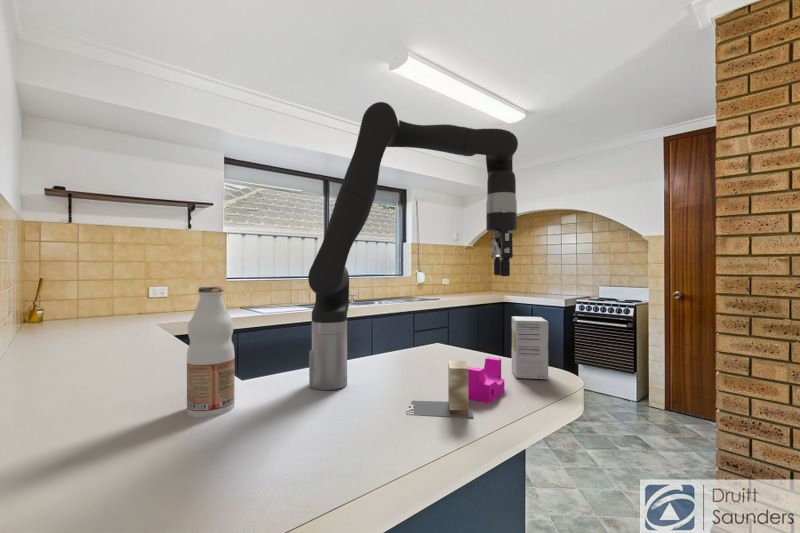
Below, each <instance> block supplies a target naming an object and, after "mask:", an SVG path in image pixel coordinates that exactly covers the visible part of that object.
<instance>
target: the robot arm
mask: <svg viewBox="0 0 800 533" xmlns="http://www.w3.org/2000/svg"><path fill="white" fill-rule="evenodd" d="M518 140H519V139H518V138H517V136H516V135H515V134H514V133H513V132H511V131H509V130H507V129H502V128H472V127H468V126H462V125H455V124H447V123H442V124H441V123H439V124H415V123H411V122H406V121H405V120H404V121H403V120H401V119H399V117H398V115H397V112H396V110H395V108H393V106H392V105H391V104H389V103H388V102H384V101H377V102H375V103H373V104H371V105H370V106H369V107H368V108H367V109H366V110H365V112H364V113H363V116H362V120H361V123H360V126H359V131H358V136H357V140H356V144H355V148H354V152H353V154H352V157H351V159H350V162H349V164H348V167H347V169H346V172H345V175H344V177H343V180H342V183H341V186H340V187H339V191H338V194H337V197H336V199H335V202H334V206H333V209H332V211H331V212H332V213H331V216H330V218H329V221H328V224H327V228H326V232H325V236H324V238H323V239H322V242H321V245H320V247H319V249H318V252H317V253H316V256H315V258H314V260H313V262H312V265H311V267H310V268H309V272H308V276H307V277H308V285H309V287H310V289H311V290H312V291H313V293H315V303H314V306H313V308H312V311H311V350H309V351H308V352H309V353H308V354H309V355H308V356H309V357H308V358H309V359H308V361H309V362H308V364H309V366H308V367H309V368H308V376H309V380H308V382H309V384H308V386H309V388H310V389H315V390H319V391H332V390H333V391H334V390H339V389H340V390H341V389H343V388H345V387H347V385H348V312H349V307H350V306H349V304H350V276H349V271H348V269H347V267H346V264H347V261H348V257H349V253H350V251H351V249H352V247H353V244H354V242H355V240H356V239H357V237H358V236H359V234H360V232H361V231H362V229H363V228H364V226H365V224H366V222H367V220H368V218H369V215H370V213H371V210H372V207H373V204H374V201H375V197H376V193H377V189H378V182H379V175H380V167H381V163H382V159H383V157H384V155H385V154H384V153H385V152H386V149H387V148H411V149H412V148H413V149H423V150H429V151H430V150H431V151H435V152H436V151H437V152H443V153H447V154H452V155H457V156H464V157H473V156H475V155H481V156H482V155H483V156H485V164H486V171H487V172H486V174H487V186H486V187H487V191H486V192H487V193H486V194H487V195H486V207H485V211H486V213H485V214H486V216H485V218H486V221H485V222H486V228H485V229H486V231H487V232H491V233H494V236H492V237H491V259H492V261H493V275H495V276H500V277H510V275H511V261H512V258H513V257H514V254H513V232H515V231H516V230H517V228H518V225H517V224H518V221H517V219H518V214H517V212H518V211H517V210H518V208H517V206H518V204H517V194H516V193H517V190H516V189H517V187H516V186H517V185H516V181H517V180H516V175H515V172H514V171H513V167H514V166H513V160H514V159H513V158H514V154H516V152H517V150H518V147H519V142H518Z"/></svg>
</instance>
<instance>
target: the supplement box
mask: <svg viewBox="0 0 800 533" xmlns="http://www.w3.org/2000/svg"><path fill="white" fill-rule="evenodd" d="M511 371H512V373H513V375H514V377H515V378H516V379H531V380H533V379H536V380H548V379H549V321H548V320H546V319H545V318H543V317H541V316H517V315H515V316H511Z"/></svg>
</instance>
